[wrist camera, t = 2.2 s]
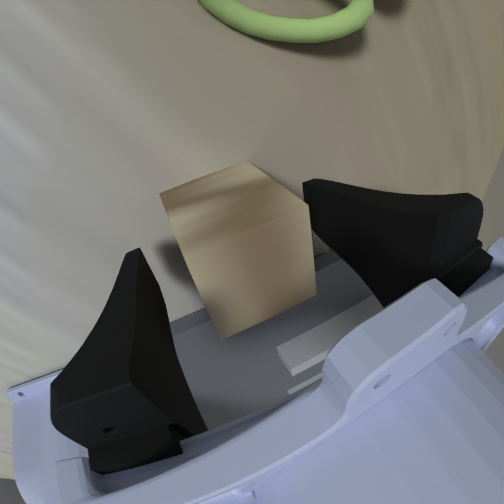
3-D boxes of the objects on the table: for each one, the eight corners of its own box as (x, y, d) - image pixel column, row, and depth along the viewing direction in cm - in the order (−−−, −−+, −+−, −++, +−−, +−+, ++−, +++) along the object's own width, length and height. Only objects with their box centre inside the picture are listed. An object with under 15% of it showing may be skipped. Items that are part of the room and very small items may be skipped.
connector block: (188, 265, 15) (221, 340, 11) (159, 193, 12) (183, 256, 8) (262, 234, 15) (316, 294, 12) (246, 160, 13) (308, 205, 9)
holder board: (184, 433, 24) (195, 461, 21) (96, 352, 15) (100, 395, 13) (373, 340, 28) (391, 360, 25) (389, 221, 19) (421, 243, 17)
